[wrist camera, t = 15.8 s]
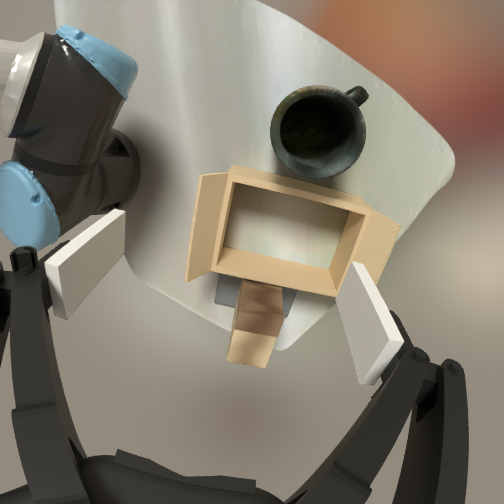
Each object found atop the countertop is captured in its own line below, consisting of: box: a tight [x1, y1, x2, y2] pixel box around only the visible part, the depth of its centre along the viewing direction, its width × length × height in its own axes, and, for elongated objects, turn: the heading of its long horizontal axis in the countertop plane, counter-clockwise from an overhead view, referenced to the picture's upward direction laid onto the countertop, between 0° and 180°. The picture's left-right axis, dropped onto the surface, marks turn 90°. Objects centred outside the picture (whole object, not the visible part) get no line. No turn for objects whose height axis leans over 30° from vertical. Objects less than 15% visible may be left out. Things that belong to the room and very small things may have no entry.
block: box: [227, 278, 284, 368], centre depth 46 cm, size 6×10×14 cm, turn 168°
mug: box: [270, 85, 369, 179], centre depth 35 cm, size 11×15×12 cm
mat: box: [215, 273, 297, 317], centre depth 53 cm, size 14×10×1 cm
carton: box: [184, 165, 401, 297], centre depth 42 cm, size 26×15×12 cm, turn 78°
